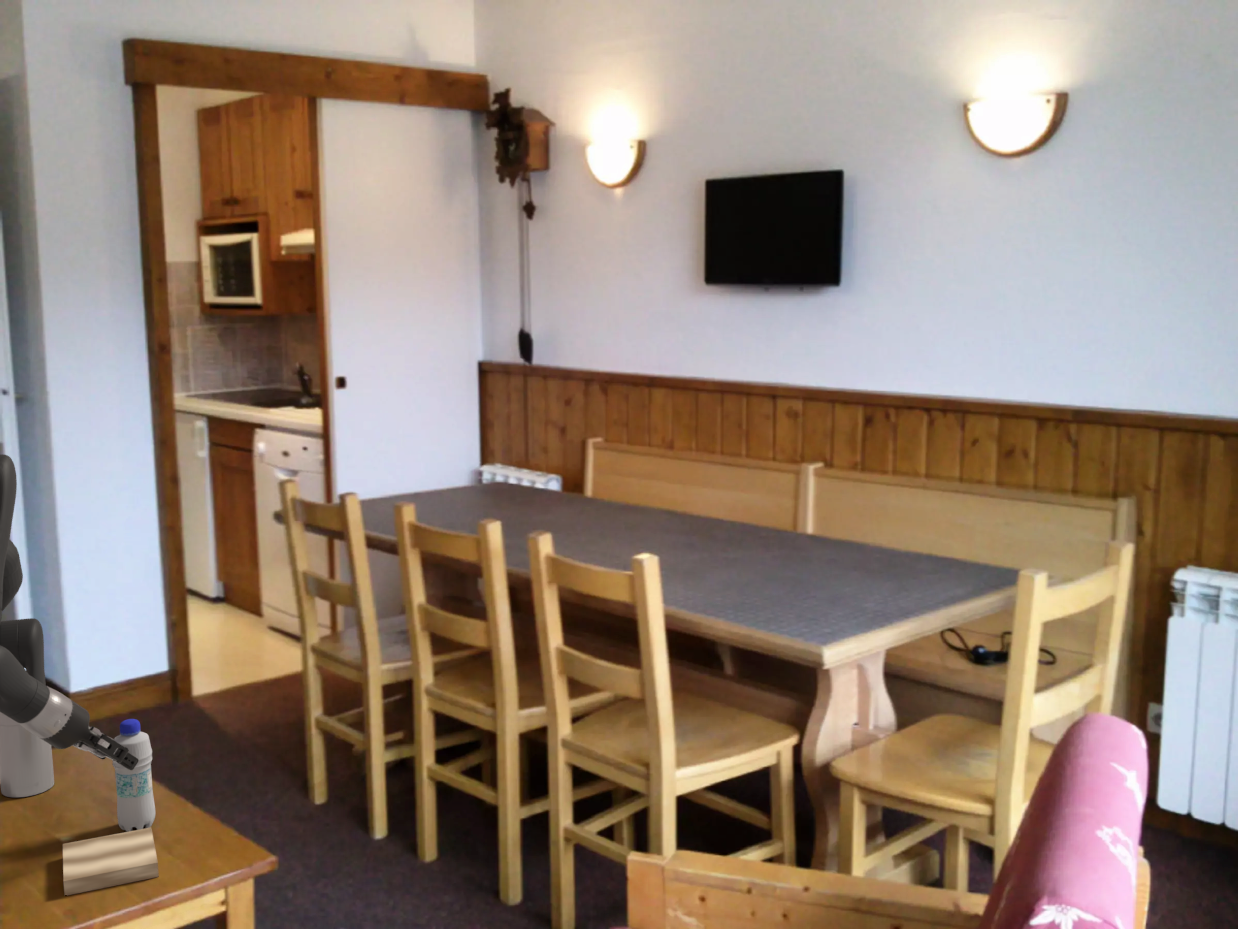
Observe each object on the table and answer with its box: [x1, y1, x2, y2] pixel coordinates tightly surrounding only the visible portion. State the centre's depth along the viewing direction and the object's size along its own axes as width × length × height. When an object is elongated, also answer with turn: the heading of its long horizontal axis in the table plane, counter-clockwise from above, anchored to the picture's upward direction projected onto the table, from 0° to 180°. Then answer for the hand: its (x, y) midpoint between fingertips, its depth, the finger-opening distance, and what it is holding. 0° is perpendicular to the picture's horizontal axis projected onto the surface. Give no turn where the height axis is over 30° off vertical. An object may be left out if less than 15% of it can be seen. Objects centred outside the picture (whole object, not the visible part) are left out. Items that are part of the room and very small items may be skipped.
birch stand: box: [62, 827, 160, 896], centre depth 200 cm, size 14×14×2 cm
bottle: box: [111, 718, 156, 832], centre depth 213 cm, size 7×7×20 cm
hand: (120, 759), depth 210 cm, fingers open, 8 cm apart
